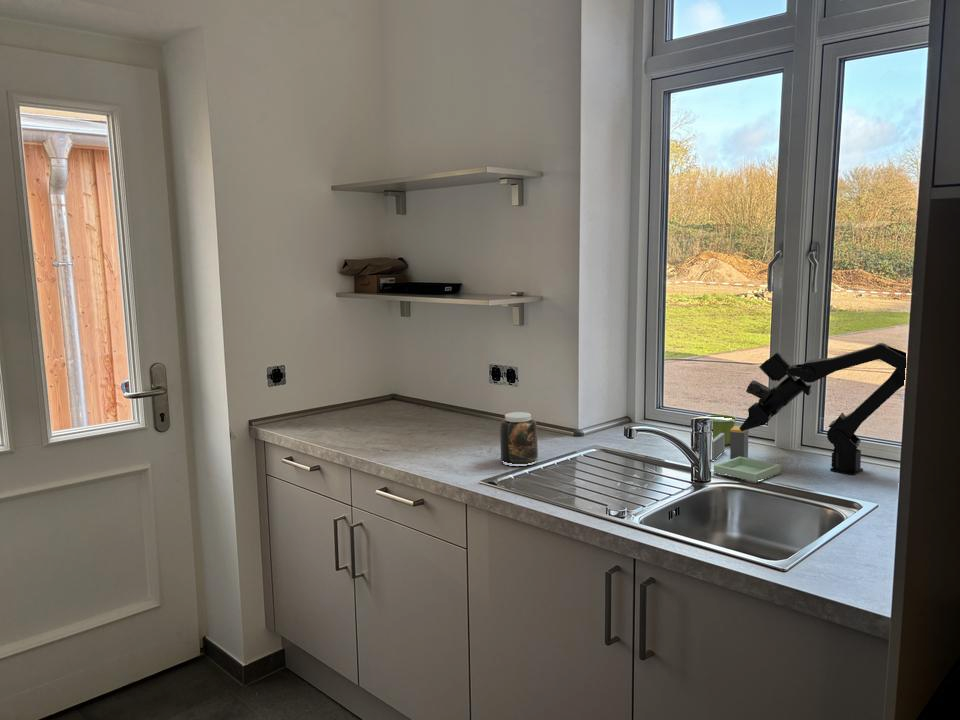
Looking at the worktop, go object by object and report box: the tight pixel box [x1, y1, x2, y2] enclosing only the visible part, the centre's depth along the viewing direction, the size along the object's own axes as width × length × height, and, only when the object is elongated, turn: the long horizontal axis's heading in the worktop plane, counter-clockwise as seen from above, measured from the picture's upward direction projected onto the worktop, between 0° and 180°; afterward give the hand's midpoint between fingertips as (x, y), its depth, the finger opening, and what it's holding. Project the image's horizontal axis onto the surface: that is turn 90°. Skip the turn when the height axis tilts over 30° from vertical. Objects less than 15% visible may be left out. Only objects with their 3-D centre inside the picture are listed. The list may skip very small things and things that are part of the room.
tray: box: [713, 456, 782, 484], centre depth 210 cm, size 13×13×2 cm
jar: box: [499, 411, 539, 464], centre depth 230 cm, size 12×12×15 cm
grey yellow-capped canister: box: [729, 425, 749, 460], centre depth 225 cm, size 4×5×10 cm
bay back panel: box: [712, 433, 726, 461], centre depth 228 cm, size 1×12×6 cm, turn 147°
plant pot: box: [707, 414, 737, 446], centre depth 243 cm, size 9×9×9 cm
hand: (744, 426), depth 223 cm, fingers open, 9 cm apart
